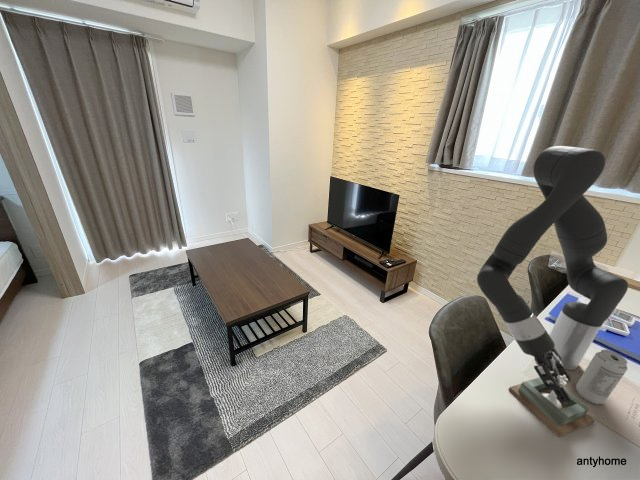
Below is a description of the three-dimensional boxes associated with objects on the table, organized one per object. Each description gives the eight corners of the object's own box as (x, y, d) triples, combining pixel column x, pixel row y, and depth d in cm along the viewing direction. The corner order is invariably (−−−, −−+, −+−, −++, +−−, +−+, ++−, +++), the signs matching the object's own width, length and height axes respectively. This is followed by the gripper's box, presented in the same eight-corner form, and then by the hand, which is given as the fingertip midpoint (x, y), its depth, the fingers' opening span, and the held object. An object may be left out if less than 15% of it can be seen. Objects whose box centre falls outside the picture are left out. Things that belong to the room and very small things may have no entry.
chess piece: (537, 390, 73) (552, 364, 69) (560, 401, 70) (576, 375, 66) (537, 402, 69) (552, 375, 65) (561, 415, 66) (578, 387, 63)
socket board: (540, 379, 77) (545, 370, 76) (593, 422, 66) (600, 412, 64) (508, 389, 74) (513, 379, 72) (559, 436, 62) (566, 426, 61)
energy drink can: (598, 393, 74) (624, 354, 69) (606, 410, 70) (635, 369, 64) (571, 383, 77) (594, 344, 72) (577, 398, 72) (603, 358, 67)
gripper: (542, 343, 62) (586, 409, 59) (546, 317, 71) (583, 372, 69) (508, 347, 67) (547, 408, 64) (516, 323, 77) (550, 374, 74)
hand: (566, 390), depth 66 cm, fingers open, 8 cm apart
